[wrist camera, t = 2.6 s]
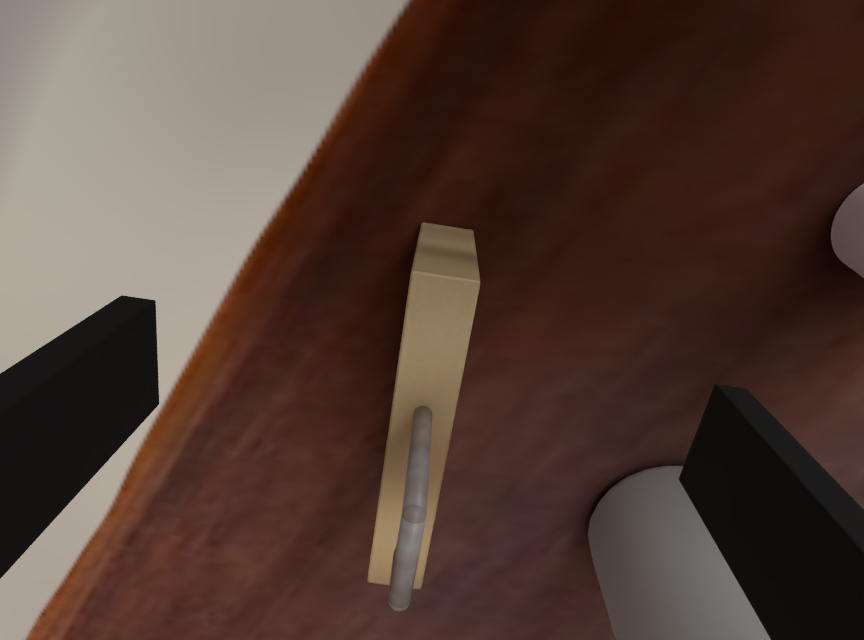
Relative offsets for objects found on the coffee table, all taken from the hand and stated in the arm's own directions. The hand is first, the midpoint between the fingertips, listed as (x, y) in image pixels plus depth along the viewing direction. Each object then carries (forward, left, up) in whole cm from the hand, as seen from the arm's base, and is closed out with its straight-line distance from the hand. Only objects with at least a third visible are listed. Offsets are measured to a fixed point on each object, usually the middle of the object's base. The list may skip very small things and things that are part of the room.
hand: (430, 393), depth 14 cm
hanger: (+4, 0, -10) cm, 10 cm away
